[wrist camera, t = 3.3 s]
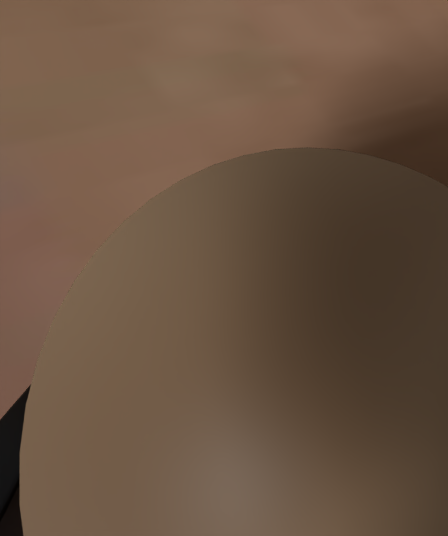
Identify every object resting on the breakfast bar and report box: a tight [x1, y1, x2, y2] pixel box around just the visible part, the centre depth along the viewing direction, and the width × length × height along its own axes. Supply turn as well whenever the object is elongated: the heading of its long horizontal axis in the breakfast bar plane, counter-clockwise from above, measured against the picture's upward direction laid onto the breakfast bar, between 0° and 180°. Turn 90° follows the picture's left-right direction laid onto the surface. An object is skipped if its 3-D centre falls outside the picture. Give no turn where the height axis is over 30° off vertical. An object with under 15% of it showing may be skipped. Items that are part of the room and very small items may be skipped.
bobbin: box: [20, 148, 448, 536], centre depth 9 cm, size 6×6×13 cm
